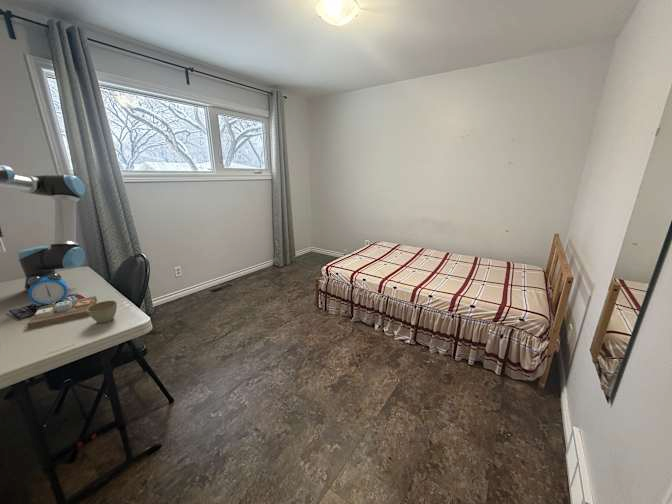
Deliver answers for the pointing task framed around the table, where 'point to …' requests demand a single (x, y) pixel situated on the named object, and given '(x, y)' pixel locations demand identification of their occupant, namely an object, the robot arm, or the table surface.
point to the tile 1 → (44, 311)
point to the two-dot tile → (63, 306)
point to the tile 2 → (83, 303)
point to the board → (61, 313)
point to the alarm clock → (47, 289)
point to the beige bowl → (103, 311)
